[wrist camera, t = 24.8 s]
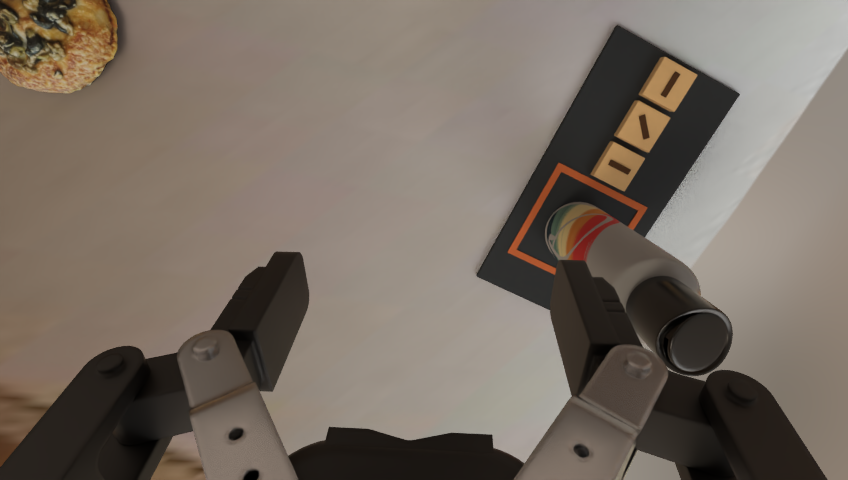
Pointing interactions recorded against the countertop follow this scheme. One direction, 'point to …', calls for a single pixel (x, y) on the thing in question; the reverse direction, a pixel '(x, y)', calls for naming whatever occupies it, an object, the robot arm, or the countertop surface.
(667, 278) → the lotion bottle
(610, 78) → the mat
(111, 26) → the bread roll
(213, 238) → the countertop surface
